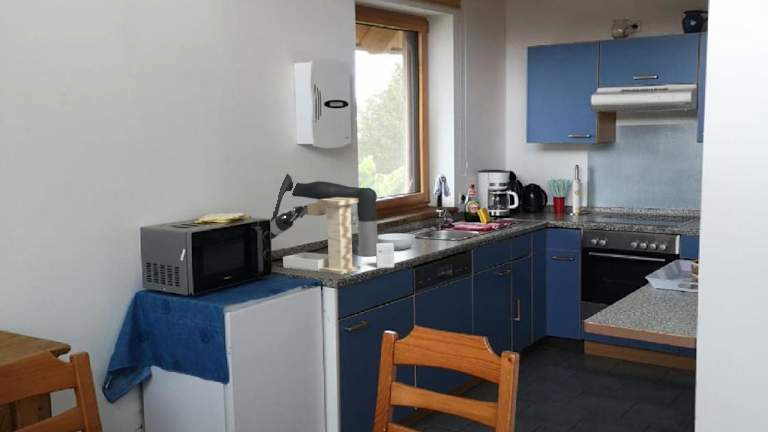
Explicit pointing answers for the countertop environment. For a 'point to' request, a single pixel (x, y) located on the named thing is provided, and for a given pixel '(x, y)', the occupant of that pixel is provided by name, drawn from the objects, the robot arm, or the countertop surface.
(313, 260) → the grey tray
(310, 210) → the strut
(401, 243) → the serving bowl
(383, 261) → the small box
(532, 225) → the countertop surface
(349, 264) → the birch pedestal
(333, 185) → the robot arm
